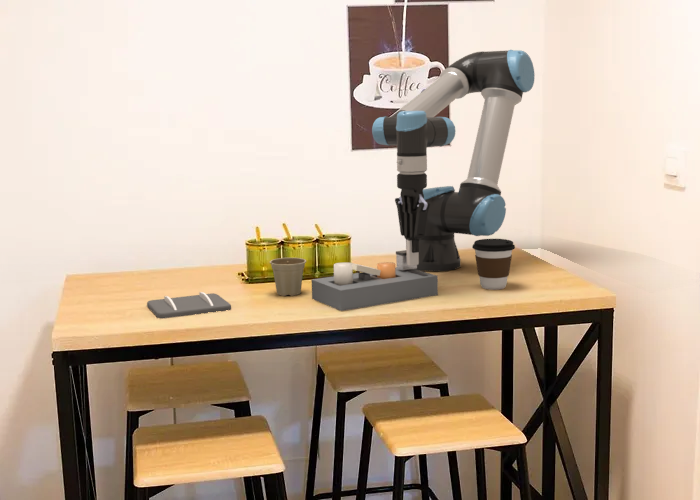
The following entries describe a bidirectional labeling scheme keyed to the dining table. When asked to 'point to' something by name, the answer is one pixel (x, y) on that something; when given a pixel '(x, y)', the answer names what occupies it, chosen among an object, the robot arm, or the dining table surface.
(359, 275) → the console
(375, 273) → the rocker
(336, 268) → the button white
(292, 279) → the flower pot
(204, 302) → the grey flat slab
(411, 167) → the robot arm
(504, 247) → the coffee cup
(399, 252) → the fader
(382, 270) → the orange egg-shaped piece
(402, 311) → the dining table surface
